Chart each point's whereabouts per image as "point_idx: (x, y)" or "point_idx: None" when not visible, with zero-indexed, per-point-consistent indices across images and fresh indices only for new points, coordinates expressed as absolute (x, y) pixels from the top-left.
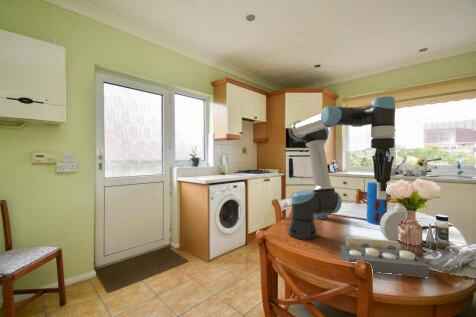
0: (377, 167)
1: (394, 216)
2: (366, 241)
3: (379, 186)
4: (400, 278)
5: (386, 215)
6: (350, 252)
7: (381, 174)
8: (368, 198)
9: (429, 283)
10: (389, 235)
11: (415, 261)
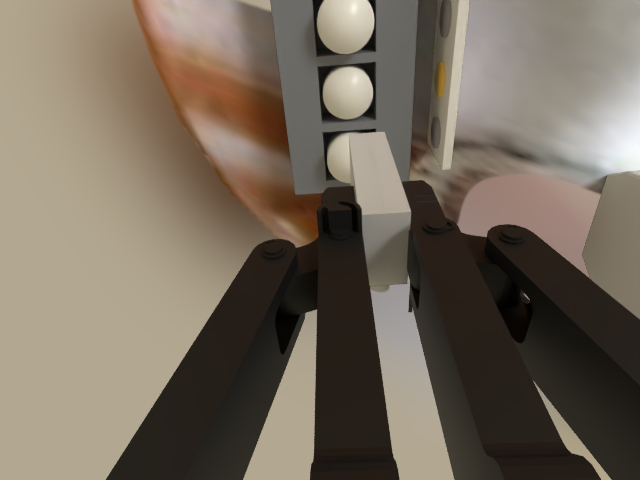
0: (479, 385)
1: None
2: (453, 26)
3: (356, 197)
4: (269, 91)
5: None
6: None
7: (318, 306)
8: None
9: (268, 165)
10: (618, 185)
11: (318, 169)
